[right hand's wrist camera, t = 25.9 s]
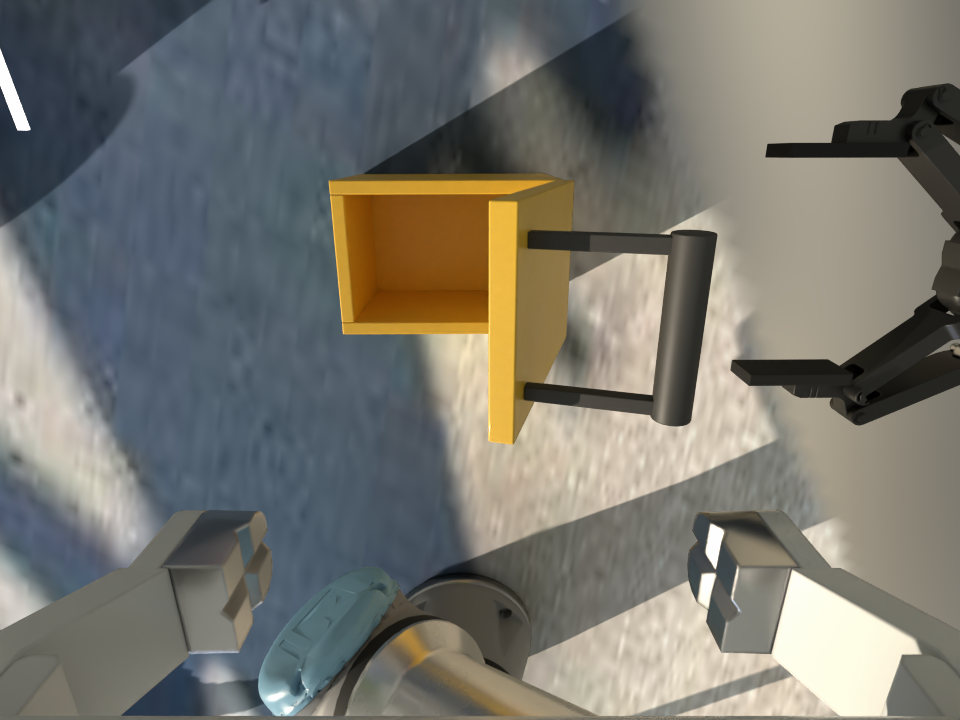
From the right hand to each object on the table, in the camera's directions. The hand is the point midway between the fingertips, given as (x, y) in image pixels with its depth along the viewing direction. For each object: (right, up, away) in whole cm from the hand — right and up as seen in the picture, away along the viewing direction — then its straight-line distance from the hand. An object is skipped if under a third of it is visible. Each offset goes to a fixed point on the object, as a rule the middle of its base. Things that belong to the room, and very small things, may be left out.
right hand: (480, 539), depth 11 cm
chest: (-2, +14, +37) cm, 39 cm away
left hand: (+17, +9, +24) cm, 30 cm away
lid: (+3, +7, +19) cm, 21 cm away
